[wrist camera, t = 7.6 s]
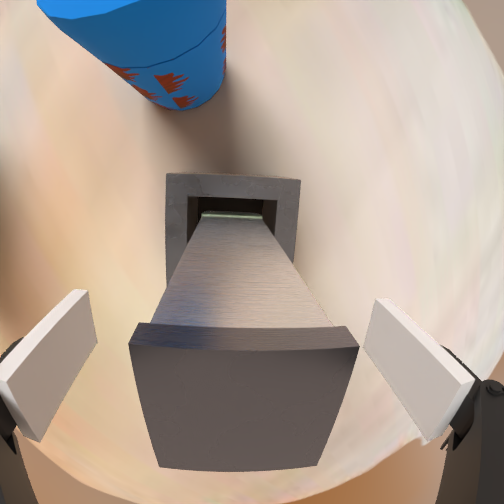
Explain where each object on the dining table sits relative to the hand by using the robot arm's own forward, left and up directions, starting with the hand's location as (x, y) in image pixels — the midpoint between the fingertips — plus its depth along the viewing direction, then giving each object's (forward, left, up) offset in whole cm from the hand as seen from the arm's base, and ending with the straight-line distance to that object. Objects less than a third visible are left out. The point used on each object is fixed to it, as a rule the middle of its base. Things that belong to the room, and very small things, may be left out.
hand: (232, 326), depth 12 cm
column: (0, 0, -17) cm, 17 cm away
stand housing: (0, 0, -25) cm, 25 cm away
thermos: (-7, +19, -25) cm, 32 cm away
